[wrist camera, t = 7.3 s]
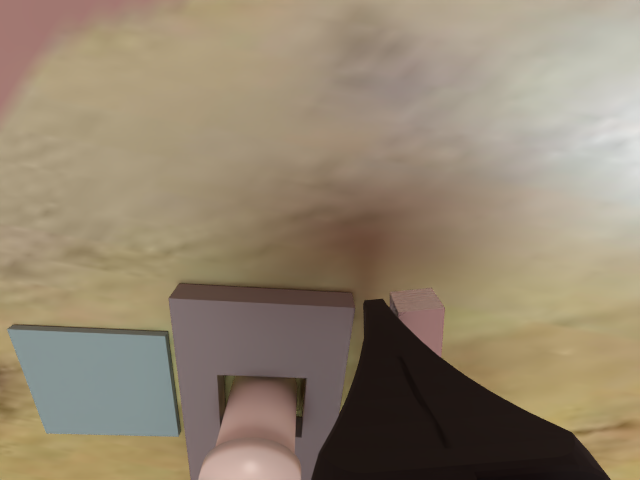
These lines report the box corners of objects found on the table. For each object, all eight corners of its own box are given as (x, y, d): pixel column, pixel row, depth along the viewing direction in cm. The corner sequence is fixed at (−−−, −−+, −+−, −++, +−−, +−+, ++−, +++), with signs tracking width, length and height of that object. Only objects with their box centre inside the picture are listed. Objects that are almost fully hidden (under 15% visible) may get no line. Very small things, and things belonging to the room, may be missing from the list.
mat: (180, 431, 23) (178, 436, 23) (50, 427, 23) (46, 433, 22) (167, 331, 20) (164, 336, 19) (12, 324, 19) (7, 329, 19)
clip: (428, 508, 17) (436, 536, 16) (383, 512, 17) (388, 541, 16) (444, 286, 11) (458, 306, 10) (377, 293, 11) (384, 313, 10)
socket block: (327, 464, 25) (328, 485, 24) (198, 462, 25) (191, 483, 23) (351, 292, 19) (355, 307, 18) (179, 283, 18) (168, 298, 17)
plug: (300, 416, 23) (298, 514, 17) (227, 413, 23) (201, 513, 17) (305, 360, 21) (304, 452, 15) (224, 357, 21) (194, 450, 15)
